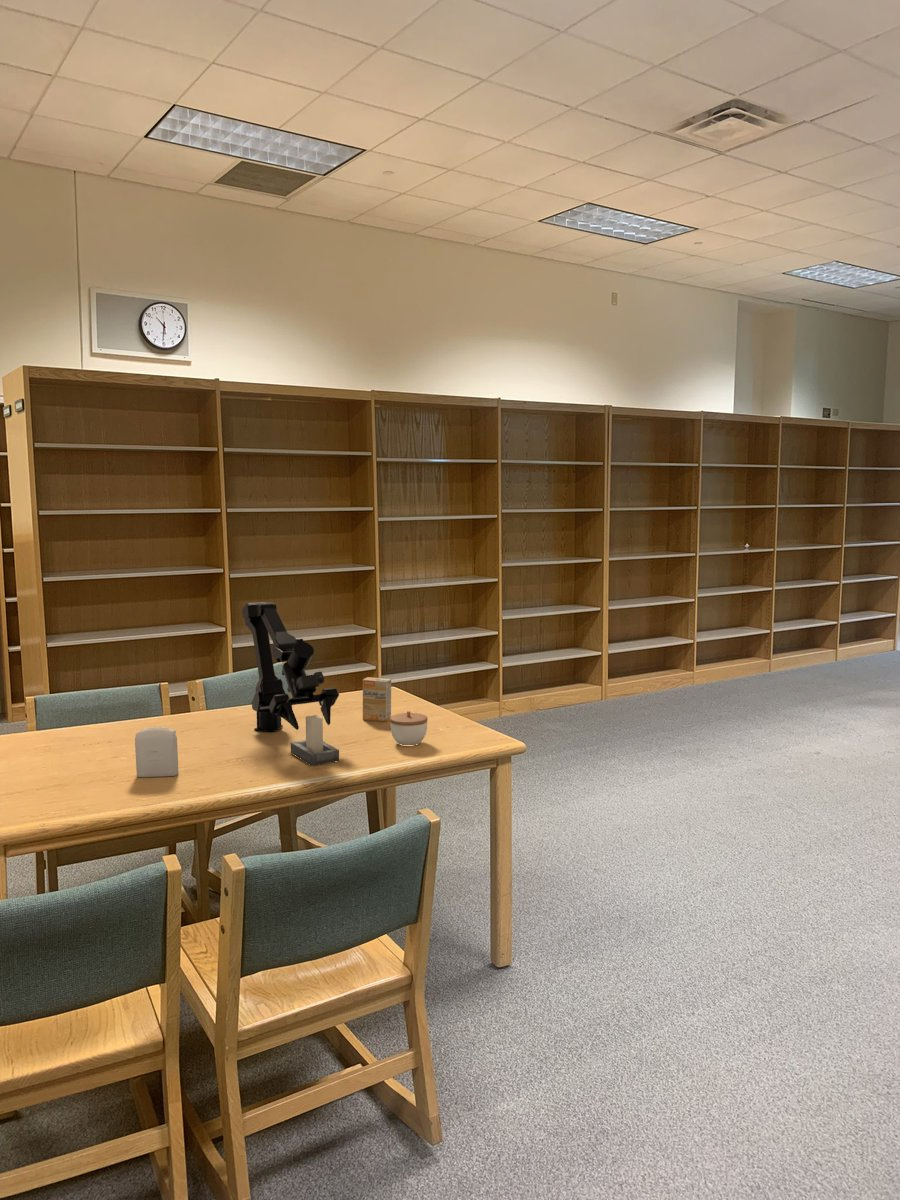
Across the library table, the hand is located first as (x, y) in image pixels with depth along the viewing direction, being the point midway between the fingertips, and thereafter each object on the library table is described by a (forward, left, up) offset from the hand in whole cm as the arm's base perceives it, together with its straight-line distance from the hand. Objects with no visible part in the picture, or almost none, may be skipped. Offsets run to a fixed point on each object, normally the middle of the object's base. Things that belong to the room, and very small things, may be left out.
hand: (313, 726), depth 234 cm
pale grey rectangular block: (0, 0, -7) cm, 7 cm away
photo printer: (-31, -26, -9) cm, 41 cm away
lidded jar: (+20, +20, -9) cm, 30 cm away
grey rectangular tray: (0, 0, -8) cm, 8 cm away
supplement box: (+1, +43, -9) cm, 44 cm away
